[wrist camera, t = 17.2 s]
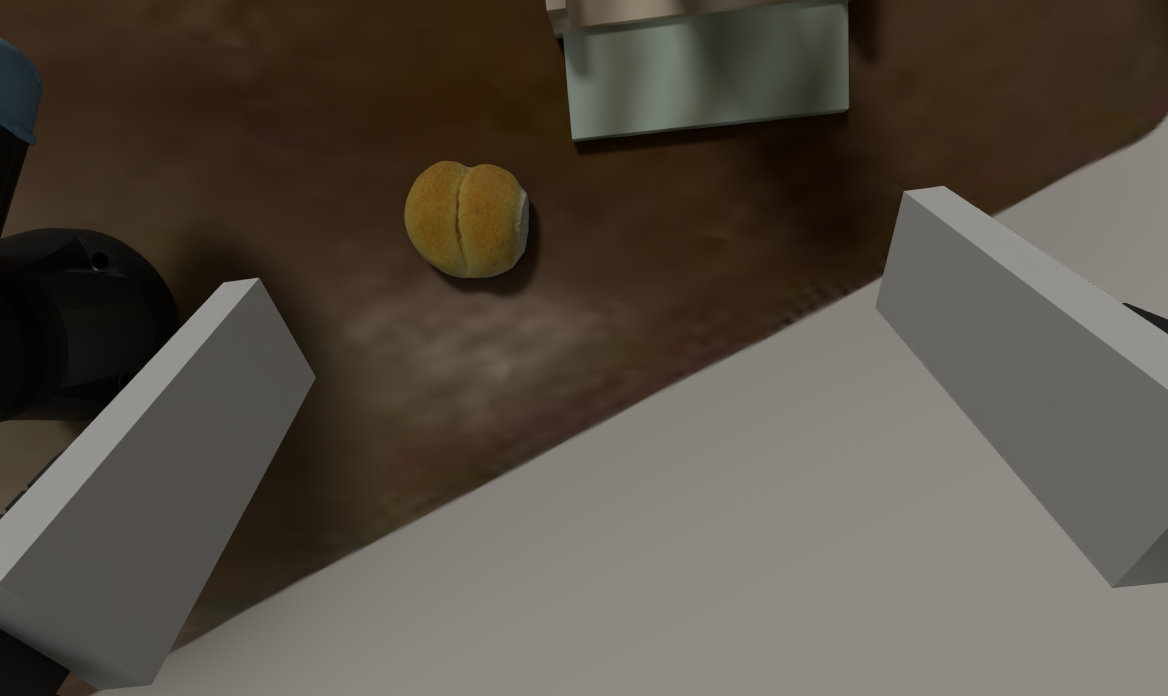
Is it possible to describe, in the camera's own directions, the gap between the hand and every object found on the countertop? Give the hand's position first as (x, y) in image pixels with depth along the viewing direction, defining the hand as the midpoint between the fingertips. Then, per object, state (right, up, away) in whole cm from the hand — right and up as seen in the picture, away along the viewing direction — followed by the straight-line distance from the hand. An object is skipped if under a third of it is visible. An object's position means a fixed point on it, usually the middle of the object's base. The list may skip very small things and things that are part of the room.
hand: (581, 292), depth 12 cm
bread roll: (-8, +8, +29) cm, 32 cm away
